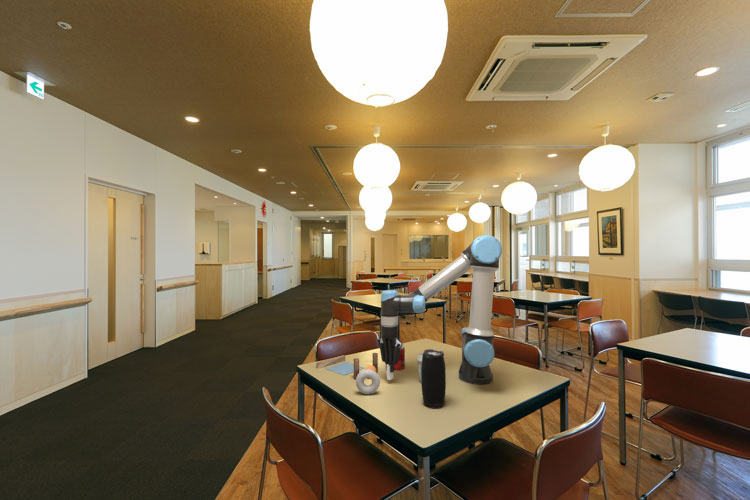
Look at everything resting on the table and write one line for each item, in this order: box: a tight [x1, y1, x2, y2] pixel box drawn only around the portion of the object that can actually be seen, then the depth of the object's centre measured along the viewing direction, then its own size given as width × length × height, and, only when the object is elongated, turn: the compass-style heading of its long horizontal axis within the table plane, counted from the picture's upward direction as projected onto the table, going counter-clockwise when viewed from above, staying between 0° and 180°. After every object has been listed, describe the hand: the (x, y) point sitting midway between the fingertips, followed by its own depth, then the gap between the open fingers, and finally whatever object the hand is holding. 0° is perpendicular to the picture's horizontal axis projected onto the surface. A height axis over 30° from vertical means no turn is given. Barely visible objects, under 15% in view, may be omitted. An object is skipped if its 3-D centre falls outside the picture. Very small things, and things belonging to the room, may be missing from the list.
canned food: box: [394, 344, 406, 371], centre depth 165 cm, size 8×8×11 cm
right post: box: [371, 352, 379, 374], centre depth 160 cm, size 3×3×9 cm
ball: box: [364, 364, 377, 372], centre depth 152 cm, size 6×6×6 cm
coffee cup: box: [416, 352, 424, 384], centre depth 146 cm, size 9×9×12 cm
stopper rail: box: [315, 355, 346, 369], centre depth 173 cm, size 2×18×2 cm, turn 137°
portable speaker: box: [420, 348, 447, 410], centre depth 124 cm, size 9×9×20 cm
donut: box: [355, 369, 381, 395], centre depth 133 cm, size 10×4×10 cm, turn 91°
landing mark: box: [324, 361, 365, 376], centre depth 165 cm, size 14×14×1 cm
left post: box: [353, 357, 360, 381], centre depth 151 cm, size 3×3×9 cm
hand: (390, 378), depth 145 cm, fingers closed
